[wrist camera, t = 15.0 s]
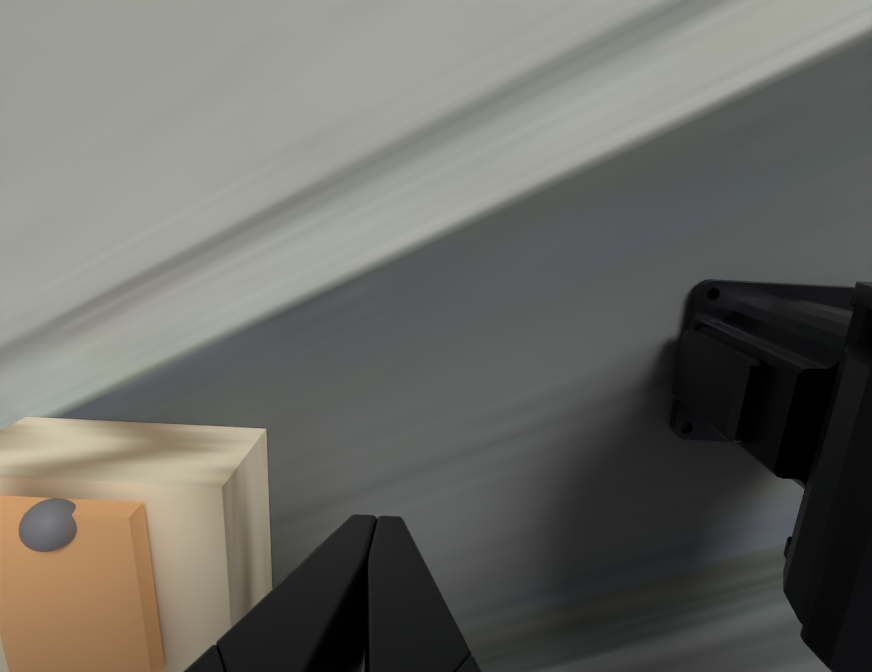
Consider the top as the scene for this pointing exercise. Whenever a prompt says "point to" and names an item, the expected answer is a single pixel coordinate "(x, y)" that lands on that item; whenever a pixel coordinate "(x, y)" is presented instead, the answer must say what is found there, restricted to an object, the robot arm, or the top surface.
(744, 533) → the top surface
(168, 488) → the block
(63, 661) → the orange knobbed panel
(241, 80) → the top surface
